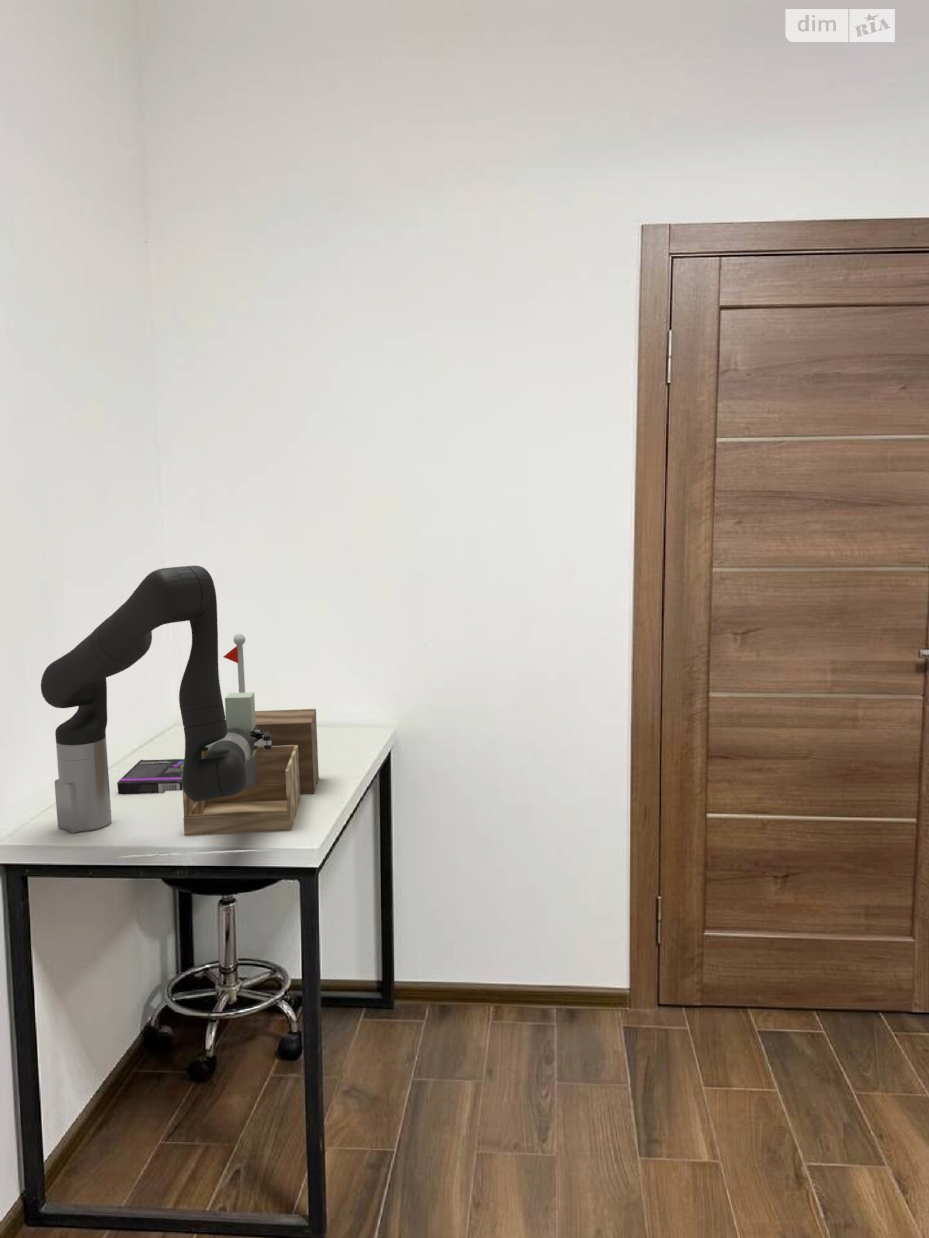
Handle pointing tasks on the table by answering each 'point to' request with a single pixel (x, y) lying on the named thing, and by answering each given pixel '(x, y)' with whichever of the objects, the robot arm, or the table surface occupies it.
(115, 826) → the table surface
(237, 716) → the box
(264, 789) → the wooden open bin
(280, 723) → the riser
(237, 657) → the flag stand
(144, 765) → the box
